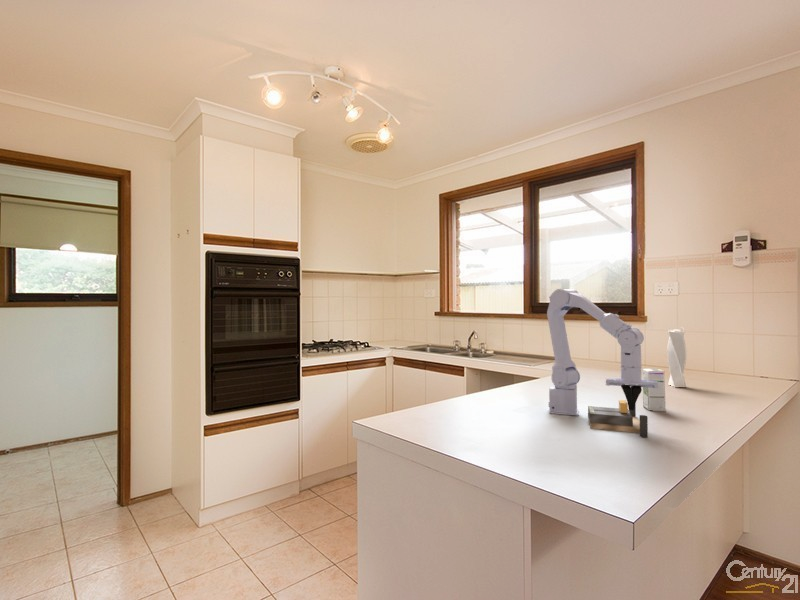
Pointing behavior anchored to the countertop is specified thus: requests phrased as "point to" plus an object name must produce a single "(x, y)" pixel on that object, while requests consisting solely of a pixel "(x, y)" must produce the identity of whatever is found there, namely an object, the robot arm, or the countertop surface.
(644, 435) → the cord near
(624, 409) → the orange cuboid
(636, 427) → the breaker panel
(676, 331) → the skyscraper
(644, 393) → the syrup box
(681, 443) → the countertop surface
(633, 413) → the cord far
